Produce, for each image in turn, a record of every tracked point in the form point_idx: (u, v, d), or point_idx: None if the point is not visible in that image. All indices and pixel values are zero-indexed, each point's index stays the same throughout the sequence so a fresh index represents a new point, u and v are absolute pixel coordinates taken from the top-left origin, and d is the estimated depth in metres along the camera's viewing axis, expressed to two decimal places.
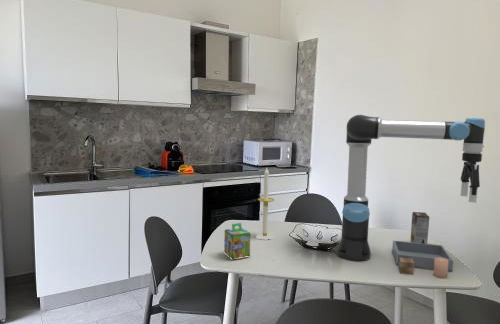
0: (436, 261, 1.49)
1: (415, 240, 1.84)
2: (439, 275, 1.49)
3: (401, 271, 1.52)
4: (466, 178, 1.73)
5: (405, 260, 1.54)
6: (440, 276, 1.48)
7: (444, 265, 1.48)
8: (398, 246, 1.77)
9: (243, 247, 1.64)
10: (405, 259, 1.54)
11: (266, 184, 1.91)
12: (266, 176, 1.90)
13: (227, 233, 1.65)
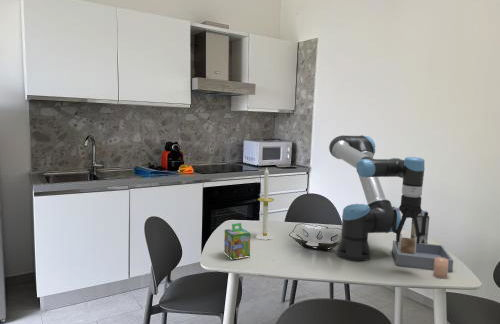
0: (436, 261, 1.49)
1: None
2: (439, 275, 1.49)
3: (402, 250, 1.51)
4: (415, 229, 1.52)
5: (406, 239, 1.53)
6: (440, 276, 1.48)
7: (444, 265, 1.48)
8: None
9: (243, 247, 1.64)
10: (406, 239, 1.54)
11: (266, 184, 1.91)
12: (266, 176, 1.90)
13: (227, 233, 1.65)
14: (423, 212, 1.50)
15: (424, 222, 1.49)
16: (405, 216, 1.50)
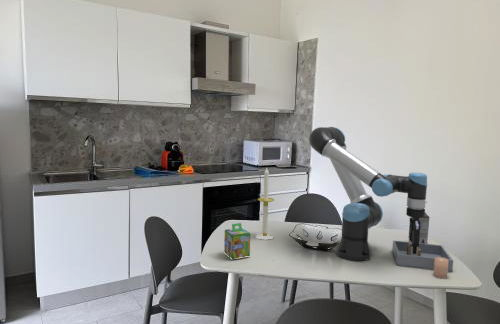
0: (436, 261, 1.49)
1: None
2: (439, 275, 1.49)
3: None
4: None
5: None
6: (440, 276, 1.48)
7: (444, 265, 1.48)
8: (398, 246, 1.77)
9: (243, 247, 1.64)
10: None
11: (266, 184, 1.91)
12: (266, 176, 1.90)
13: (227, 233, 1.65)
14: None
15: None
16: None
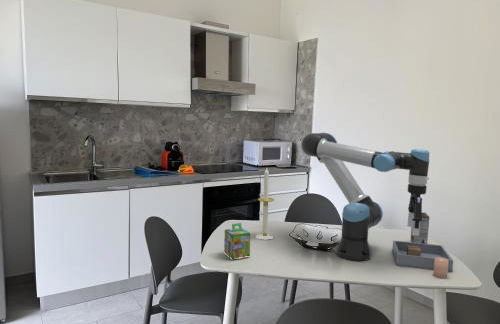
0: (436, 261, 1.49)
1: (415, 240, 1.84)
2: (439, 275, 1.49)
3: None
4: (413, 209, 1.71)
5: (413, 248, 1.67)
6: (440, 276, 1.48)
7: (444, 265, 1.48)
8: (398, 246, 1.77)
9: (243, 247, 1.64)
10: (412, 247, 1.67)
11: (266, 184, 1.91)
12: (266, 176, 1.90)
13: (227, 233, 1.65)
14: None
15: None
16: None
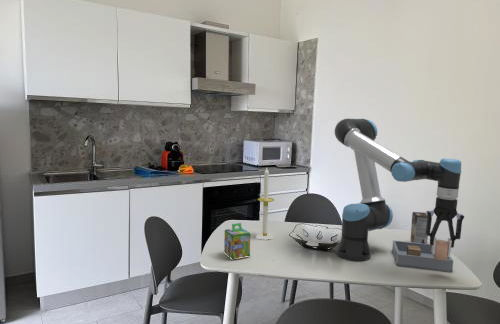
0: (436, 243, 1.49)
1: (415, 240, 1.84)
2: (439, 257, 1.48)
3: None
4: (450, 232, 1.48)
5: (413, 248, 1.67)
6: (440, 258, 1.48)
7: (444, 247, 1.47)
8: (398, 246, 1.77)
9: (243, 247, 1.64)
10: (412, 247, 1.67)
11: (266, 184, 1.91)
12: (266, 176, 1.90)
13: (227, 233, 1.65)
14: (459, 215, 1.46)
15: (460, 225, 1.46)
16: (440, 219, 1.47)
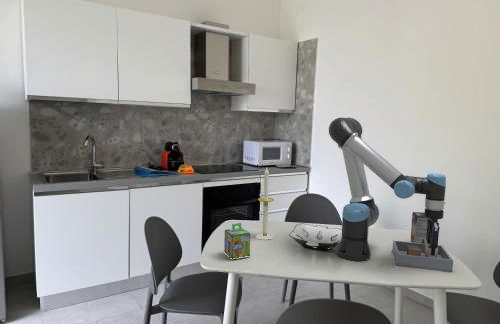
0: None
1: (415, 240, 1.84)
2: None
3: None
4: None
5: (413, 248, 1.67)
6: None
7: None
8: (398, 246, 1.77)
9: (243, 247, 1.64)
10: (412, 247, 1.67)
11: (266, 184, 1.91)
12: (266, 176, 1.90)
13: (227, 233, 1.65)
14: None
15: None
16: None
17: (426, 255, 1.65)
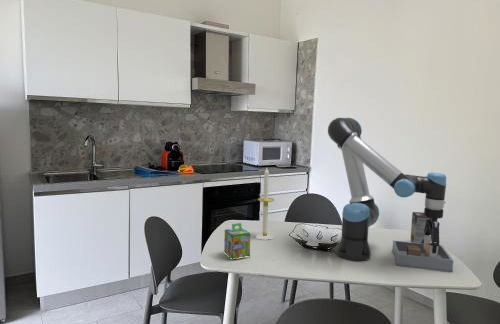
0: None
1: (415, 240, 1.84)
2: None
3: None
4: (429, 231, 1.70)
5: (413, 248, 1.67)
6: None
7: None
8: (398, 246, 1.77)
9: (243, 247, 1.64)
10: (412, 247, 1.67)
11: (266, 184, 1.91)
12: (266, 176, 1.90)
13: (227, 233, 1.65)
14: None
15: None
16: None
17: (426, 255, 1.65)
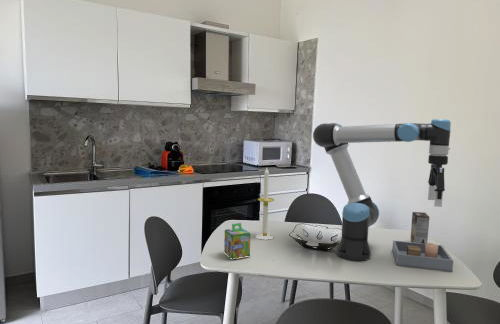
0: (435, 248, 1.63)
1: (415, 240, 1.84)
2: None
3: None
4: (433, 181, 1.67)
5: (413, 248, 1.67)
6: None
7: None
8: (398, 246, 1.77)
9: (243, 247, 1.64)
10: (412, 247, 1.67)
11: (266, 184, 1.91)
12: (266, 176, 1.90)
13: (227, 233, 1.65)
14: None
15: None
16: None
17: (426, 255, 1.65)
